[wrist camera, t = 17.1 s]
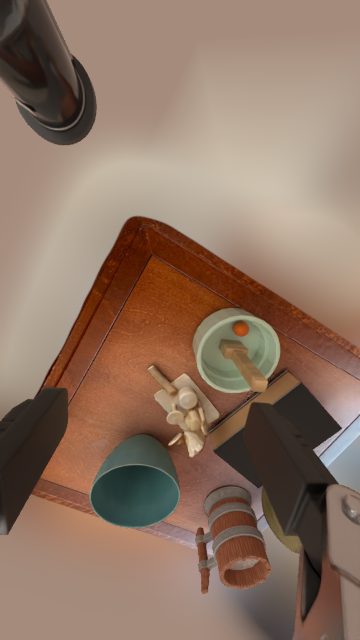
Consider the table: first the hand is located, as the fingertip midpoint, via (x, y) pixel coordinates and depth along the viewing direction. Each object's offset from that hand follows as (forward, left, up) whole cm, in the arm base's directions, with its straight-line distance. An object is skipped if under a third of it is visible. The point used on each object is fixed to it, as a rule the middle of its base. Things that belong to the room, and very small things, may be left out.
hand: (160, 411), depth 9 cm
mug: (+62, +24, -36) cm, 76 cm away
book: (+30, +30, -36) cm, 56 cm away
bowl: (+10, +16, -36) cm, 41 cm away
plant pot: (+41, -1, -36) cm, 55 cm away
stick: (+10, +16, -35) cm, 40 cm away
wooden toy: (+25, +7, -36) cm, 44 cm away
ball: (+6, +17, -34) cm, 38 cm away
